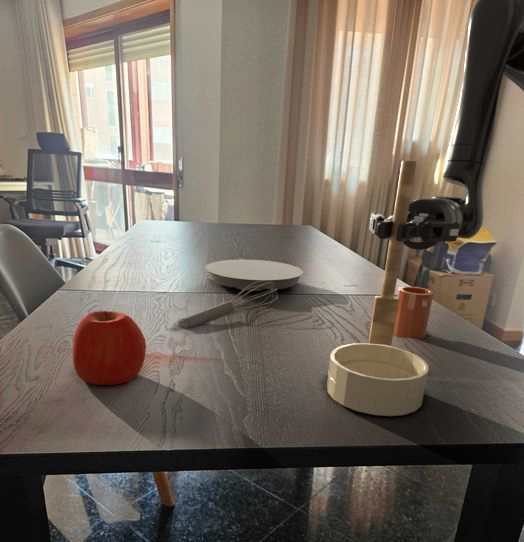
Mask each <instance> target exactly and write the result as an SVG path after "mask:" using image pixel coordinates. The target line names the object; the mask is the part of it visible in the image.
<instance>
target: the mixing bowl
mask: <svg viewBox="0 0 524 542" xmlns="http://www.w3.org/2000/svg"><path fill="white" fill-rule="evenodd" d="M429 368H430V366H429V364H428V363H427V361H426V360H424V359H423V358H422V357H420V356H419V355H417V354H415V353H413V352H411V351H409V350H406V349H403V348H400V347H396V346H393V345H380V344H369V342H357V343H356V342H355V343H348V344H343V345H340V346H337V347H336V348H334V349H333V350H332V351H331V352H330V355H329V364H328V372H327V382H326V389H327V393H328V394H329V396H330V398H332V399H333V401H335V402H337V403H338V404H340V405H341V406H343V407H345V408H348V409H350V410H353V411H355V412H359V413H363V414H368V415H373V416H383V417H385V416H386V417H396V416H405V415H408V414H411V413H414V412H416V411H417V410H418V409H420V408H421V407H422V404H423V399H424V394H425V389H426V384H427V380H428V374H429Z"/></svg>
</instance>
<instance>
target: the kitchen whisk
mask: <svg viewBox="0 0 524 542" xmlns="http://www.w3.org/2000/svg"><path fill="white" fill-rule="evenodd" d="M257 282H259V281H257ZM265 282H266V281H265ZM255 283H256V282H255ZM267 283H268V284H269V283H272V282H267ZM267 283H265V284H267ZM253 284H254V283H253ZM251 285H252V284H251ZM269 285H270V284H269ZM249 286H250V285H249ZM249 286H248V287H249ZM257 286H258V287H260V286H264V284H262V285H257ZM270 286H271V285H270ZM253 287H255V286H253ZM258 287H256V288H258ZM265 287H267V286H265ZM246 288H247V287H246ZM246 288H245V289H246ZM250 288H252V287H250ZM256 288H255V289H256ZM268 288H270V287H268ZM273 288H274V283H273ZM245 289H244V290H241V291H240V292H239V293H238V294H236V296H235V297H233V299H231V301H225V302H222V303H219V304H217V305H214V306H212V307H209V308H207V309H204V310H201V311H198V312H196V313H193V314H191V315H189V316H185V317H183V318H179V319H177V321H175V323H174V324H173V330H176V328H175V325H176V324H177V326H178V327H181V328H184V329H189V328H193V327H196V326H199V325H201V324H207V323H210V322H213V321H215V320H218V319H220V318H222V317H225V316H227V315H230V314H232V313H233V312H250V311H253V309H250V308H254V307H259V306H263V307H261V308H257V309H256V308H255V309H254V311H258V310H261V309H264V308H267V307H268V306H270V305H271V304H272V303H273V302H275V301H276V300H277V299H278V293H277V292H276V291H277V290H278V288H277V289H276V288H275V289H272V287H271V288H270V289H269V290H266V291H263V292H260V293H258V294H254V295H252V296H249V297H247V298H245V299H242V300H240V299H241V298H243V297H244V296H246V295H248V294H249V293H250V292H253V291H252V290H251V291H248V290H247V289H246V290H245ZM248 289H249V288H248ZM253 290H254V289H253ZM245 291H248V292H246V293H245V294H243V295H242V296H240V295H241V294H242V293H244V292H245ZM273 293H275V294H276V298H275V299H274V298H272V300H271V301H269V302H266V303H264V302H265V301H266V300H267V299H269V298H270V296H271V294H272V297H274V296H275V295H274V294H273ZM268 294H269V295H268ZM258 295H259V296H258ZM265 295H268V296H267V298H265V299H264V300H262V301H261V302H260V303H258V304H255V305H252V306H245V307H243V306H242V309H240V307H235V306H238V305H242V304H243V303H247V302H249V301H252V300H255V299H257V298H260V297H263V296H265ZM238 296H240V297H238ZM237 297H238V298H237ZM236 298H237V299H236ZM234 299H236V300H234ZM233 300H234V301H233ZM238 300H240V301H238ZM237 301H238V302H237ZM264 305H265V306H264Z"/></svg>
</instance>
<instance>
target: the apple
mask: <svg viewBox="0 0 524 542" xmlns="http://www.w3.org/2000/svg"><path fill="white" fill-rule="evenodd" d="M146 352H147V343H146V338H145V336H144V333H143V332H142V330H141V329H140V327H139V325H138V324H137V323H136V321H135V320H134V319H133V318H132V317H131V316H130V315H128V314H126V313H123V312H120V311H113V310H112V311H111V310H99V311H98V310H97V311H93V312H89V313H88V314H87V315H85V316H84V317H83V318H81V320H80V321H79V323H78V325H77V327H76V329H75V331H74V334H73V341H72V364H73V368H74V371H75V372H76V374H77V376H78V377H79V378H80V379H81V380H83V381H84V382H85V383H88V384H91V385H97V386H98V385H99V386H117V385H120V384H124V383H126V382H129V381H131V380H132V379H134V378H135V377H137V376H138V375H139V373H140V372H141V370H142V368H143V365H144V363H145V359H146Z"/></svg>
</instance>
